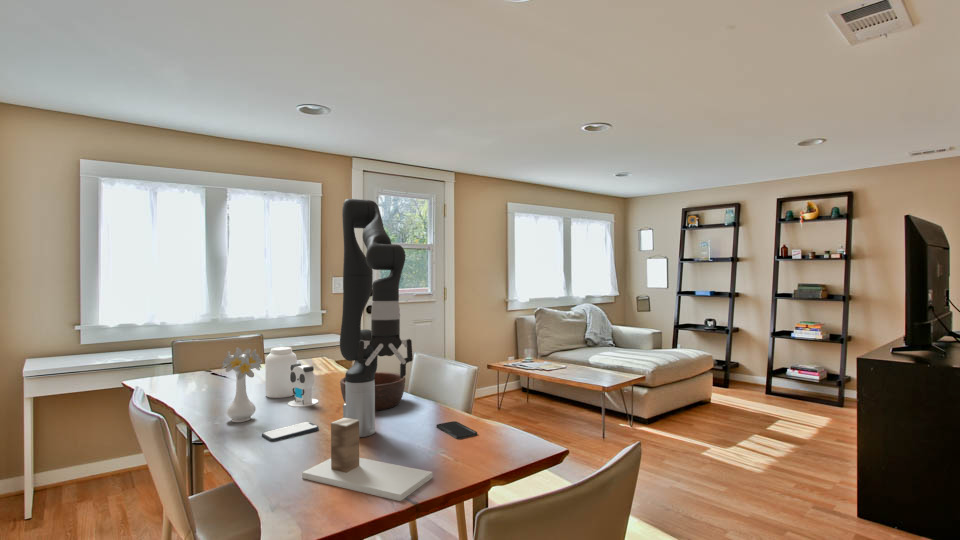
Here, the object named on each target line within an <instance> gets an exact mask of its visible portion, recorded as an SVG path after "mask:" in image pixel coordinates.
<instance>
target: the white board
mask: <svg viewBox="0 0 960 540" xmlns="http://www.w3.org/2000/svg"><path fill="white" fill-rule="evenodd" d="M301 478H302V479H303V480H308V481H312V482H317V483H322V484H325V485H329V486H334V487H338V488H342V489H343V488H344V489H346V490H351V491H355V492H359V493H365V494H368V495H373V496H377V497H381V498H385V499H389V500H394V501H399V502H402V501H403V500H404V499H406V498H407V497H408V496H410V495H411V494H412V493H414V492H415V491H417V490H418V489H419V488H420V487H422V486H423V485H425V484H426V483H428V481H430V480H431V479H433V471H428V470H425V469H419V468H415V467H414V468H413V467H408V466H403V465H398V464H394V463H388V462H383V461H378V460H374V459H369V458H364V457H359V466H358V467H356V468H354V469H353V470H351V471H349V472H347V473H345V472H341V471H336V470H331V457H330V458H328V459H326V460H324V461H322V462H321V463H320V462H319V464H315V465H314V466H312V467H310V468H308V469H306V470H304V471H302V472H301Z"/></svg>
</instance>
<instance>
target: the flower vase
mask: <svg viewBox="0 0 960 540" xmlns="http://www.w3.org/2000/svg"><path fill="white" fill-rule="evenodd" d="M251 351H252V352H251ZM263 362H264V361H263V359H262V358H260V355H259V354H257V348H255V349H254V350H252V349H251V348H246V349H245V350H242V349H241V348H240V347H236V348H235V352H234V353H233V354H232V355H231V351H230V350H228V352H227V356H226V357H225V358H224V359H223V362H222V366H221V368H220V371H221V370H223V369H224V368H225V372H226V373H228V372H231V371H232V370H233V371H234V372H235V377H236V380H235V381H236V382H235V383H236V384H235V385H236V389H235V395H234V398H233V401H232V402H231V403H230V405H229V406H228V407H227V409H226V413H225V414H226V416H227V417H228V418H230V419H231V422H232V423H244V422H248V421H250V420H251V419H252V416H253V415H254V414H255V413H256V411H257V409H256V405H255V404H254V402H253V401H251V400H250V399H249V396H248V393H247V385H246V383H247V382H246V380H247V379H246V376H247V377H248V378H251V379H252V378H254V377H255V373H254V372H253V370H254V369H255V370H257V371H261V370H260V369H262V365H261V364H262V363H263Z"/></svg>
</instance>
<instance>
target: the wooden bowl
mask: <svg viewBox="0 0 960 540" xmlns="http://www.w3.org/2000/svg"><path fill="white" fill-rule="evenodd" d="M339 383H340V391H341V395H342V396H341V397H342V399H343V402H344V404H345V403H346V390H345V377H343V378H341V379H340V381H339ZM405 384H406V376H403V378H400V373H397V372H388V371H387V372H385V371H376V373H375V411H382V410H387V409H390V408H391V409H392V408H393V407H396V406H397V405H399V404H400V402H401V401H402V398H403V395H404V391H405V386H406V385H405Z"/></svg>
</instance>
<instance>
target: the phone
mask: <svg viewBox="0 0 960 540" xmlns="http://www.w3.org/2000/svg"><path fill="white" fill-rule="evenodd" d="M435 427H436V429H438V430H439V431H441V432H443V433H445V434H446V435H447V436H448V435H449V436H450V437H452V438H454V439H456V440H463V439H467V438H471V437H472V438H473V437H476V436H478V432H477V431H476V430H474V429H472V428H470V427H468V426H466V425H465V424H463V423H460V422H459V421H455V420H452V421H448V422H442V423H438V424H436V426H435Z"/></svg>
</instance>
